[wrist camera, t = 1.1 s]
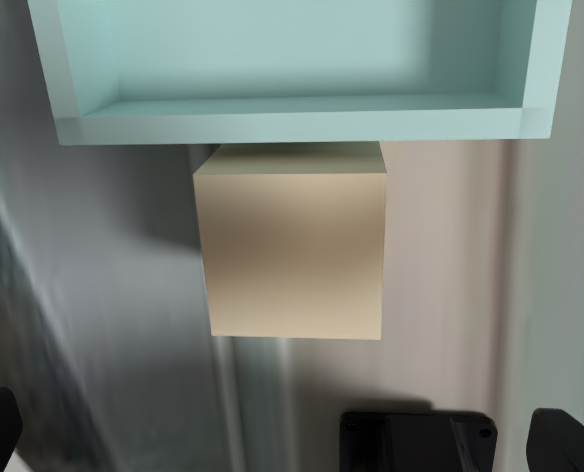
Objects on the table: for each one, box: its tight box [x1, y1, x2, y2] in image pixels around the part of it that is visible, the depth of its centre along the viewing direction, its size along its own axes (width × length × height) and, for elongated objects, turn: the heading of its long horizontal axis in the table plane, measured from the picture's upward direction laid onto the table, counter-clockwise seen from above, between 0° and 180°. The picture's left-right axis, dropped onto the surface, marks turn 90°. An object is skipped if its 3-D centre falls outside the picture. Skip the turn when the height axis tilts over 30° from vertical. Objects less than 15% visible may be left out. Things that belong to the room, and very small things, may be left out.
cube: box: [193, 141, 387, 340], centre depth 16 cm, size 5×5×5 cm
